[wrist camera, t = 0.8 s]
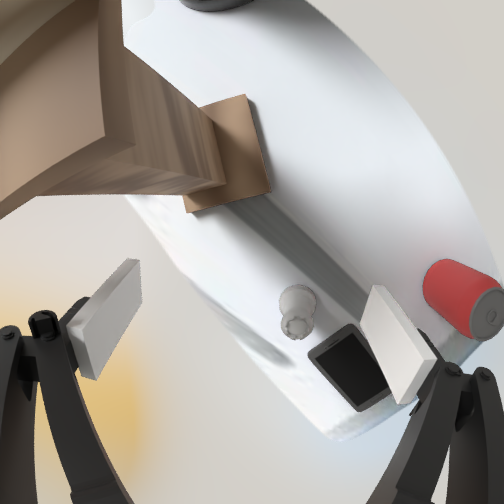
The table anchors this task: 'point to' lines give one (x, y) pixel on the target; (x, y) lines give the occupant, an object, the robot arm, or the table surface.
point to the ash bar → (24, 21)
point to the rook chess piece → (297, 311)
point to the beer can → (465, 298)
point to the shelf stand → (114, 122)
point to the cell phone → (351, 368)
